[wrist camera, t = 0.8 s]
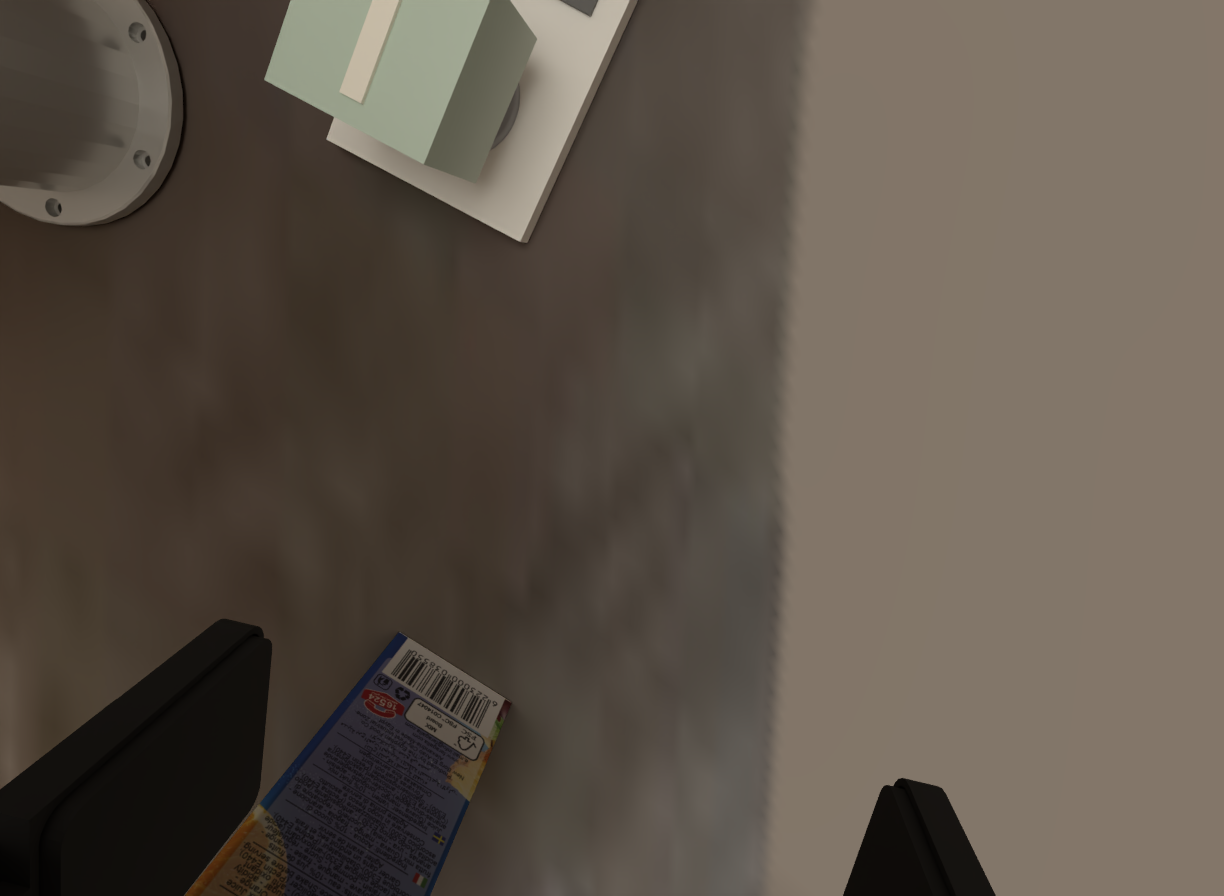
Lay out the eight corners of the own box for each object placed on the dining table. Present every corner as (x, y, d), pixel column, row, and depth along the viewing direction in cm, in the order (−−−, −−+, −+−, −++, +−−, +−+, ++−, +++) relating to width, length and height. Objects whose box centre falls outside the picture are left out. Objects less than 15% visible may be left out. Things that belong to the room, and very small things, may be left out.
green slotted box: (475, 183, 30) (421, 163, 24) (346, 115, 30) (260, 78, 24) (537, 38, 29) (495, -21, 23) (401, -34, 29) (324, -113, 23)
